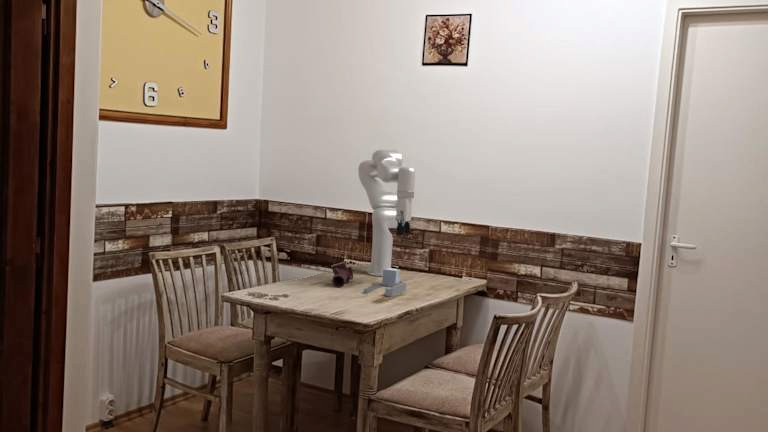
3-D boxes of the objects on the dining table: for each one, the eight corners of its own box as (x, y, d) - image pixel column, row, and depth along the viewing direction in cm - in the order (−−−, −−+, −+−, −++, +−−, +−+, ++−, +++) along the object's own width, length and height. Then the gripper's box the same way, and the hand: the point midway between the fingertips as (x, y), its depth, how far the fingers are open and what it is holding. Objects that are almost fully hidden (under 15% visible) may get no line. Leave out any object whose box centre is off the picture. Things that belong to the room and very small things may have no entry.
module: (382, 285, 339) (383, 269, 338) (385, 283, 344) (387, 267, 343) (395, 286, 337) (396, 270, 336) (398, 285, 342) (399, 269, 341)
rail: (363, 293, 319) (363, 284, 318) (378, 286, 336) (378, 277, 335) (392, 296, 315) (392, 288, 314) (405, 289, 332) (406, 281, 331)
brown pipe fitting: (355, 275, 344) (347, 254, 342) (349, 289, 328) (341, 268, 325) (342, 278, 345) (334, 258, 343) (335, 293, 329) (327, 272, 327)
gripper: (402, 194, 349) (400, 232, 350) (391, 195, 333) (389, 235, 334) (418, 195, 347) (416, 233, 348) (408, 196, 331) (406, 236, 332)
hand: (403, 234), depth 341 cm, fingers open, 9 cm apart
